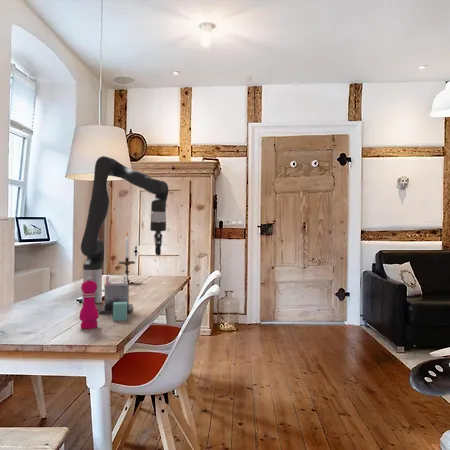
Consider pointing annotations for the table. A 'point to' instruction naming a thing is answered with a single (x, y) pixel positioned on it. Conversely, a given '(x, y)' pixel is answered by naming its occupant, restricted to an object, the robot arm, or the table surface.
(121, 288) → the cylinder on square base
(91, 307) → the pepper mill
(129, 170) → the robot arm
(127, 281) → the candlestick
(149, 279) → the table surface
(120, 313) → the turquoise cube
